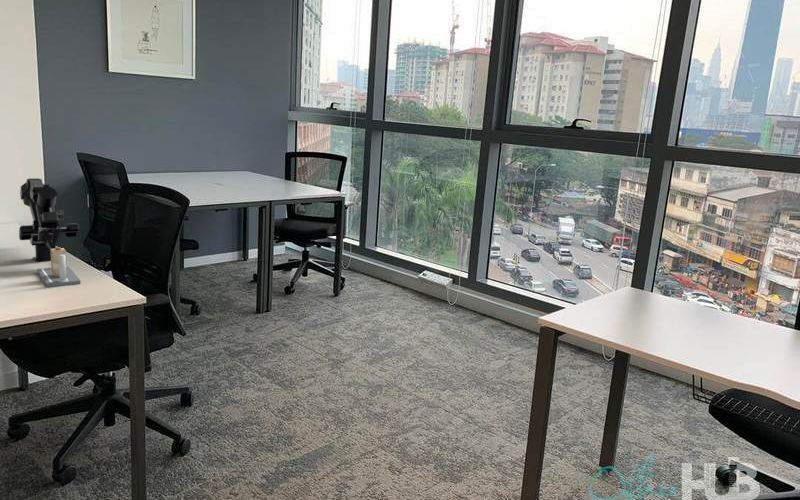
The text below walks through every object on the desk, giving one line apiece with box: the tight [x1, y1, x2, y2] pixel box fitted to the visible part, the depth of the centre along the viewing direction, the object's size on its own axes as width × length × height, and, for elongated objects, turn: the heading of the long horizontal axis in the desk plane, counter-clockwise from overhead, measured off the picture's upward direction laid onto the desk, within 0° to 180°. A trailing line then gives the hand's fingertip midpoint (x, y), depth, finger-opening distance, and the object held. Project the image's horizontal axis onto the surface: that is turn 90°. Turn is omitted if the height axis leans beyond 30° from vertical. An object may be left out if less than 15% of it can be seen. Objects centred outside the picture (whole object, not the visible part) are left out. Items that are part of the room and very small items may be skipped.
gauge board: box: [36, 254, 81, 288], centre depth 211 cm, size 20×10×10 cm, turn 38°
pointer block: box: [50, 246, 68, 277], centre depth 210 cm, size 4×4×10 cm
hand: (53, 251), depth 217 cm, fingers closed
